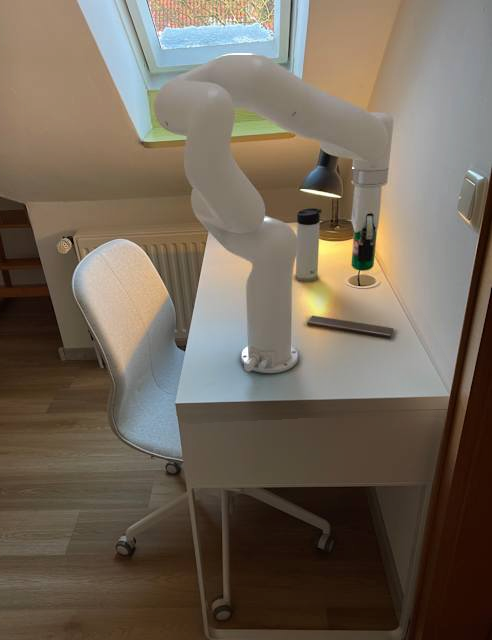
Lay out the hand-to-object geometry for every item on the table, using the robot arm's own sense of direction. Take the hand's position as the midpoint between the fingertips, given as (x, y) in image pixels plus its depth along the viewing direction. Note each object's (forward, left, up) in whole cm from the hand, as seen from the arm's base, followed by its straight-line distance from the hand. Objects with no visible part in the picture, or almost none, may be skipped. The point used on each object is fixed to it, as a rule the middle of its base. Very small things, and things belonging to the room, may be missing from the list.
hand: (363, 255), depth 126 cm
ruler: (-5, +1, -17) cm, 18 cm away
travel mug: (+21, +20, -17) cm, 34 cm away
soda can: (0, 0, -3) cm, 3 cm away
